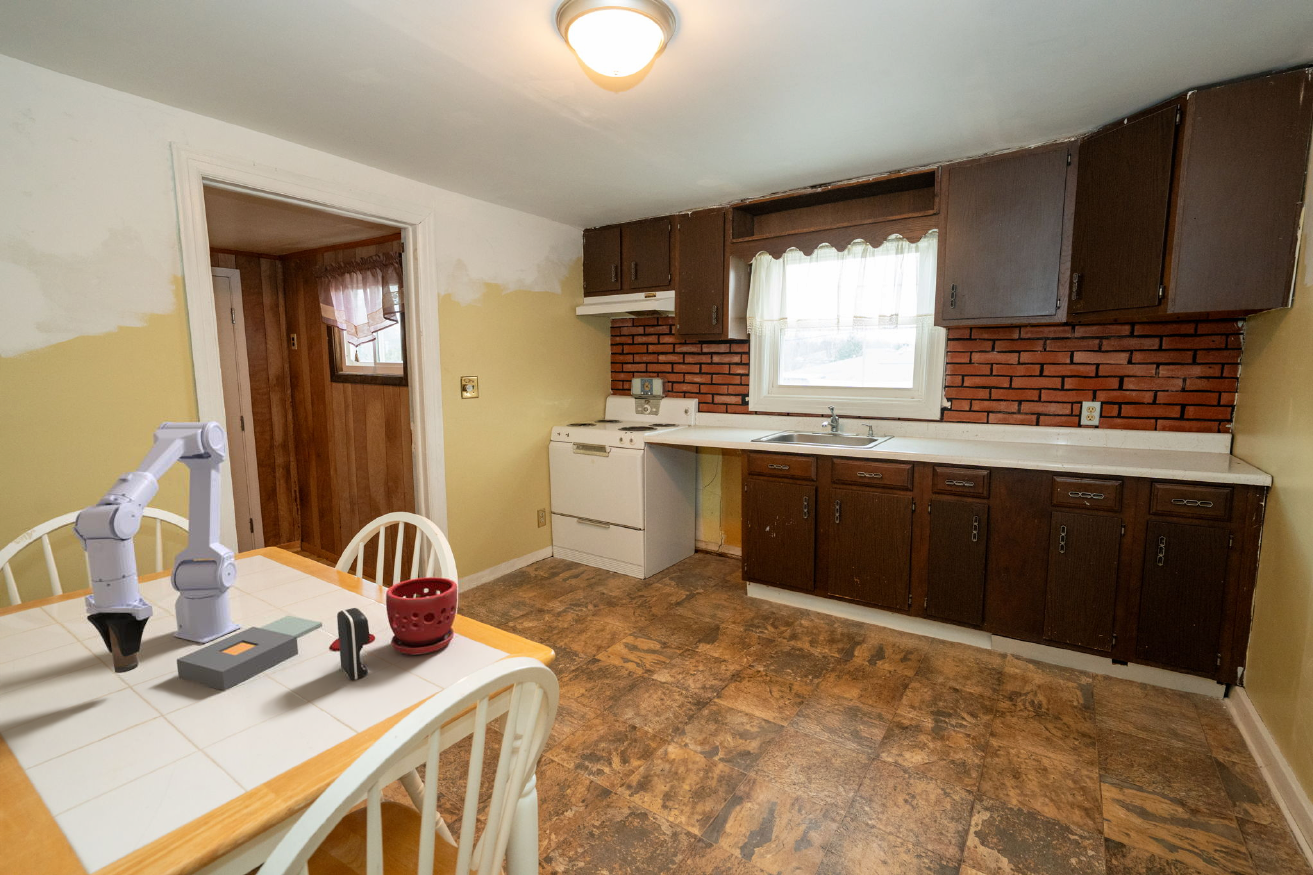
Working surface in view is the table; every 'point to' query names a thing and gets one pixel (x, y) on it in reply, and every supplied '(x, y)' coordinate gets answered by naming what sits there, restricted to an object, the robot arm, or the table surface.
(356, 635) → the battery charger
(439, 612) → the plant pot
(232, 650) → the button
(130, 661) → the brown cylinder
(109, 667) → the table surface
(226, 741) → the table surface
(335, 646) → the lollipop
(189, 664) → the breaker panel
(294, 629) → the pad
